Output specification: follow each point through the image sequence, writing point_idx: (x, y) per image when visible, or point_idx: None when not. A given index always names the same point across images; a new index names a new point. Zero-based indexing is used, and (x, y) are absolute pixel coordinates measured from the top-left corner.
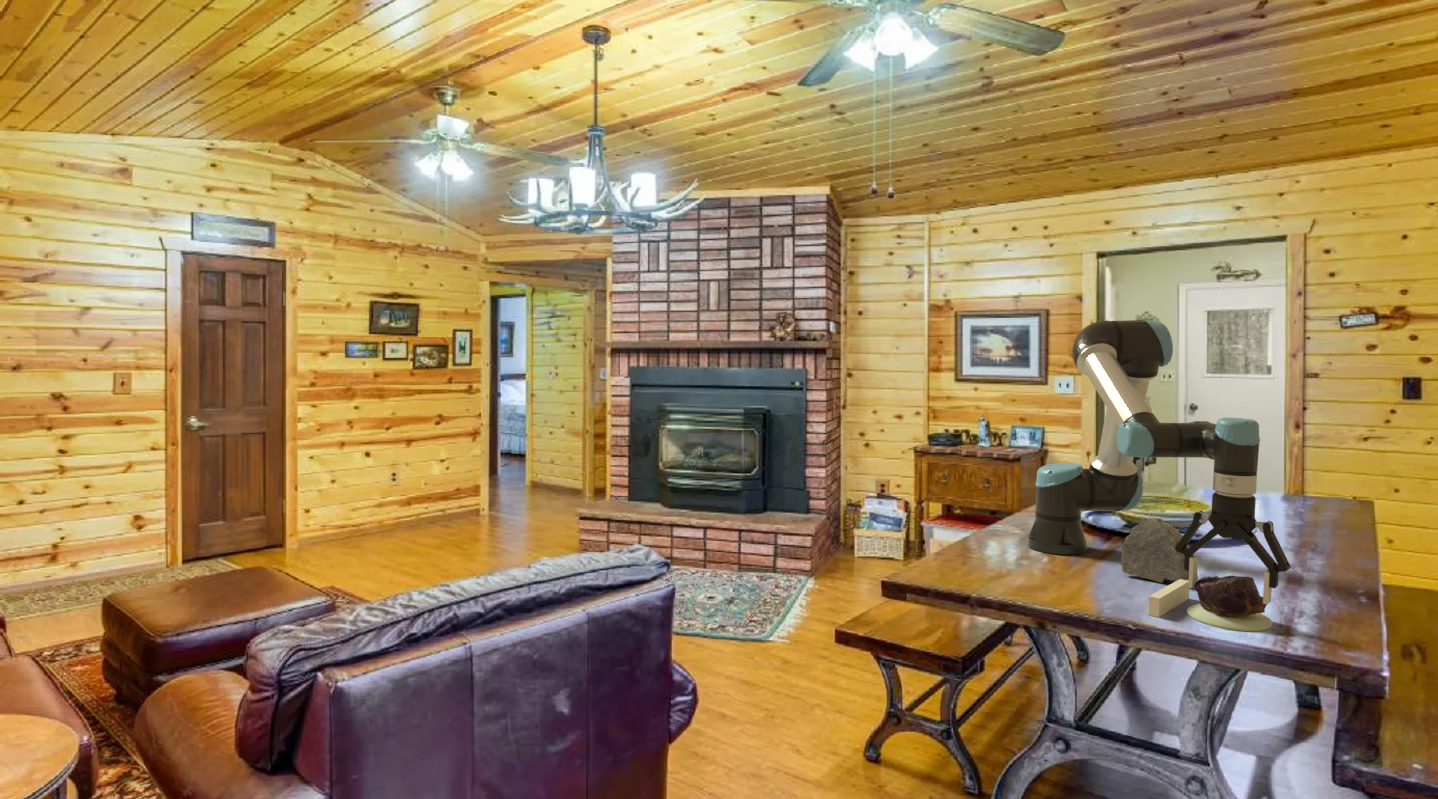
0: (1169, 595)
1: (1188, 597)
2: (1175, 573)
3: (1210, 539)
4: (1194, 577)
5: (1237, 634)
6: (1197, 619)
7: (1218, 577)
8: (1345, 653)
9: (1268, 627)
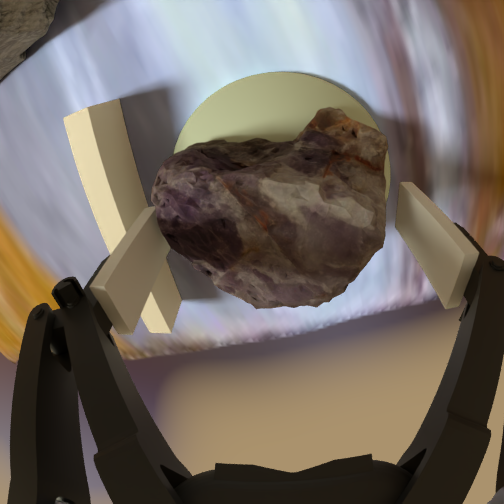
0: None
1: (117, 102)
2: (23, 40)
3: (146, 423)
4: (152, 250)
5: None
6: None
7: (211, 192)
8: (496, 229)
9: (386, 195)
